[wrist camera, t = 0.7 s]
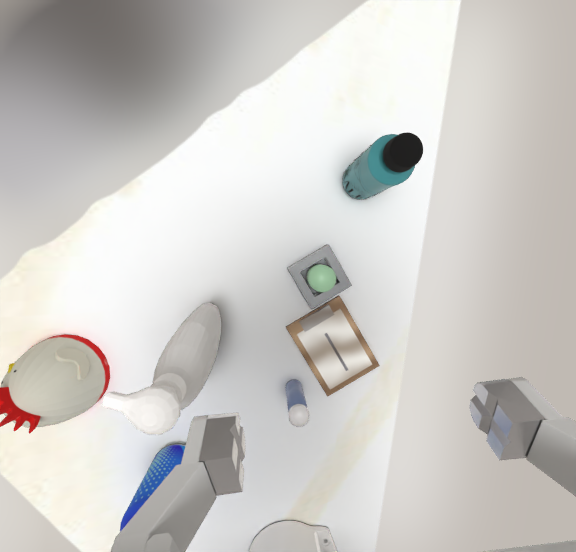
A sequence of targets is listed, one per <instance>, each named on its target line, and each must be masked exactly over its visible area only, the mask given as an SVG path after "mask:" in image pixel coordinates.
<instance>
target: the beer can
mask: <svg viewBox="0 0 576 552" xmlns="http://www.w3.org/2000/svg"><path fill="white" fill-rule="evenodd" d="M185 446H186V445H182V444H175V445H170V446H167V447H165V448H163V449H162V450H160V451H159V452H158V453H157V455H156V456H155V458H154V460H153V462H152V463H151V465H150V467H149V469H148V471H147V473H146V475H145V477H144V479H143V480H142V482H141V484H140V486H139V488H138V490H137V492H136V494H135V496H134V497H133V499H132V501H131V503H130V505H129V507H128V509H127V511H126V513H125V514H124V516H123V519H122V522H121V527H120V532H121V531H122V529H123V528H124V527H125V526H126V525H127V523H128V522H129V521H130V520H131V519H132V517H133V516H134V515H135V514H136V513H137V511H138V510H139V509H140V508H141V507H142V506H143V504H144V503H145V502H146V501H147V500H148V498H149V497H150V496H151V495H152V494H153V492H154V491H155V490H156V489H157V488H158V486H159V485H160V484H161V483H162V482H163V481H164V479H165V478H166V477H167V476H168V475H169V473H170V472H171V471H172V470H173V469H174V467H175V466H176V465H180V464H181V462H182V458H183V454H184V450H185Z"/></svg>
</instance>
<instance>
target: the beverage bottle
mask: <svg viewBox="0 0 576 552" xmlns="http://www.w3.org/2000/svg"><path fill="white" fill-rule="evenodd" d="M366 149H367V148H366ZM366 149H365V150H366ZM363 152H364V151H363ZM363 152H362V153H363ZM362 153H361V154H360V155H361V156H360V155H359V157H358V159H357V160H356V159H355V160H354V162H353V163H352V164H351V165H349V167H348V168H347V170H346V169H345V170H346V171H345V173H344V175H343V179H342V181H343V185H344V186H343V187H344V188H345V190H346V192H347V193H348V194H349V195H350V196H351V197H353V198H356V199H365V200H366V198H369V197H371V196H373V195H376V194H378V193H379V194H380V192H383V190H386V189H388V188H390V187H392V186H395V185H398V184H400V183H402V182H404V181H405V180H407V179H408V178H409V176H410V175H411V174H412V172H413V170H414V168H415V165H416V164H417V163H418V162H419V161H420V159H421V157H422V154H423V146H422V142H421V140H420V139H419V138H418V137H417V136H416V135H414V134H412V133H402V134H399V135H396V134H389V135H385V136H382V137H381V138H379V139H378V140H376V141H375V142H374V143H373V145H372V146H371V145H370V146H369V148H368V149H367V150H366V151H365V152H364V153H363V154H362Z"/></svg>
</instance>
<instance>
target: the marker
mask: <svg viewBox="0 0 576 552" xmlns="http://www.w3.org/2000/svg"><path fill="white" fill-rule="evenodd" d="M286 396H287V403H288V411H289V420H290V422H291V424H292V425H294V426H297V427H301V426H304V425H305V424H307V422H308V421H309V412H308V409H307V405H306V401H305V397H304V393H303V389H302V385H301V383H300V382H299V381H298V380H290V381H289V382H288V383H287V384H286Z"/></svg>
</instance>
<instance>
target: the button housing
mask: <svg viewBox="0 0 576 552" xmlns="http://www.w3.org/2000/svg"><path fill="white" fill-rule="evenodd" d="M323 258H324V259H325V261H326V263H327V264H328V266H329V267H330V268H332V269H333V271H334V272H335V275H336V280H337V281H336V283H335V285H334V287H333V288H332V289H331V290H329V291H327V292H317V293H315V294H314V295H313V293H312V292H311V290H310V288H309V287H308V285H307V283H306V281H305V280H304V278H303V276H302V274H301V273H300V272H301V271H303V270H305V269H306V268H308V267H310V266H311V265H313V264H315V263H317V262H318V261H320V260H322V259H323ZM287 269H288V270H289V272H290V274H291V276H292V277H293V279H294V281H295V282H296V284H297V286H298V287H299V289H300V291H301V293H302V294H303V296H304V298H305V299H306V301H307V303H308V304H309V306H310V308H311V309H313V308H315V307H316V306H318V305H320V304H321V303H323V302H325V301H326V300H328V299H330V298H332V297H333V296H335V295H337V294H338V293H340V292H342V291H343V290H345V289H347V288H348V287H350V286H352V285H351V283H350V281H349V279H348V278H347V276H346V274H345V272H344V271H343V269H342V267H341V265H340V263H339V262H338V260H337V258H336V256H335V255H334V253H333V251H332V249H331V248H330V246H329V245H325V246H323V247H322V248H320V249H318V250H317V251H315V252H313V253H312V254H310V255H308V256H307V257H305V258H303V259H301V260H300V261H298V262H296V263H295V264H293V265H291V266H290V267H288V268H287Z"/></svg>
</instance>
